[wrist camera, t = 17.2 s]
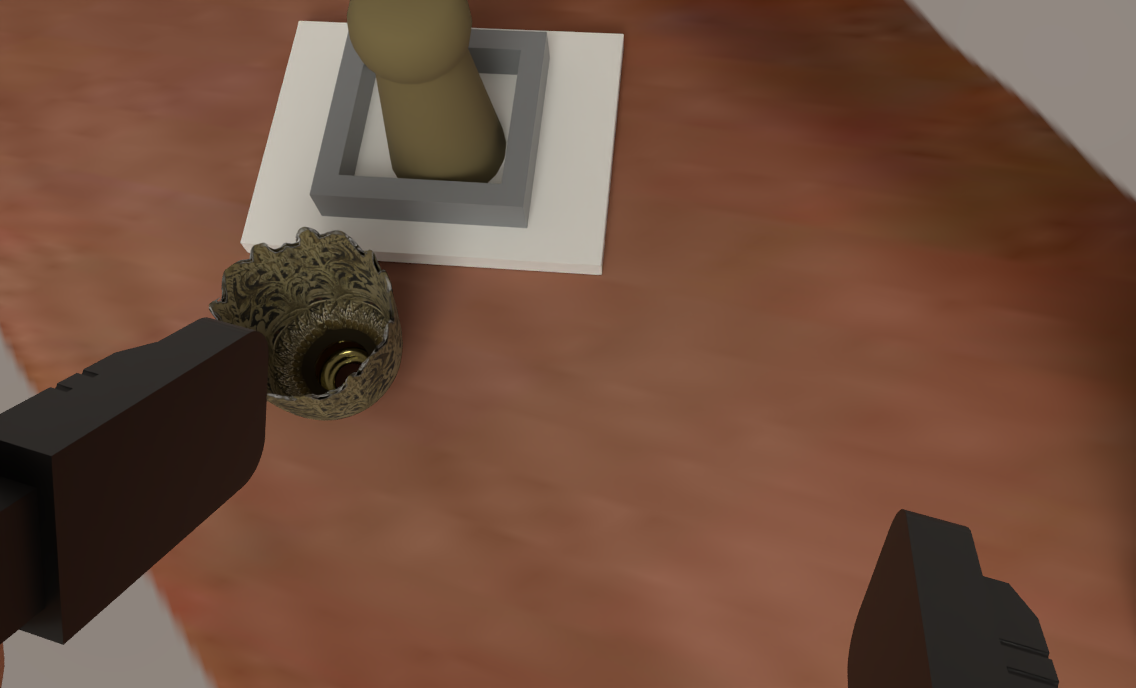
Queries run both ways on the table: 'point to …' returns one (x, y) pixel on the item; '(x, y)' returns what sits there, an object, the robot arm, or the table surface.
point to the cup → (317, 321)
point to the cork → (428, 88)
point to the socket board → (448, 208)
